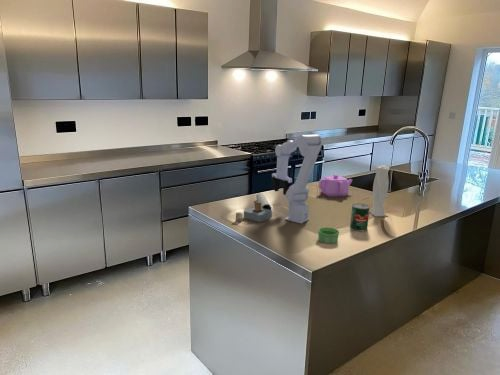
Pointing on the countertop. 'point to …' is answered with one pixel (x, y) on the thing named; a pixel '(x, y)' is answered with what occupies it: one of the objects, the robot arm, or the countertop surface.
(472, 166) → the countertop surface
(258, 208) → the walnut peg
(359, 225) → the canned tomato
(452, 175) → the countertop surface
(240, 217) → the birch peg
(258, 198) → the tube
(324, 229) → the ramekin
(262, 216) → the hole block
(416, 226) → the countertop surface
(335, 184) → the teakettle
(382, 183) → the skyscraper
